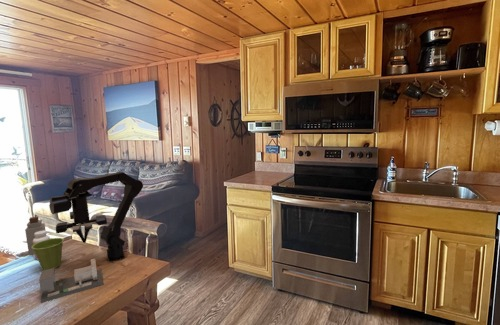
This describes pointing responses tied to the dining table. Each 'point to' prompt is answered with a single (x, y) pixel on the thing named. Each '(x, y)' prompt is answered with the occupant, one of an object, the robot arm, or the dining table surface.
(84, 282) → the gauge bench
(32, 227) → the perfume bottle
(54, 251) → the plant pot
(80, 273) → the block with end plate
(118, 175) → the robot arm
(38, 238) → the supplement bottle
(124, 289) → the dining table surface
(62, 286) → the charcoal cuboid
